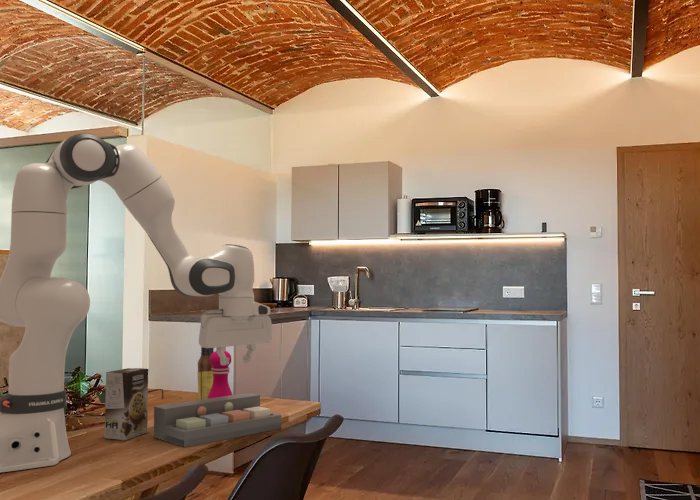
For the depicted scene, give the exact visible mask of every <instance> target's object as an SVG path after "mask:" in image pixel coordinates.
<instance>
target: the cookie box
mask: <svg viewBox="0 0 700 500" xmlns="http://www.w3.org/2000/svg"><path fill="white" fill-rule="evenodd" d="M105 373H106V374H105V388H106V399H105V405H104V408H105V410H104V438H105V439H110V440H111V439H112V440H119V441H120V440H121V441H127V440H130V439H132V438H136V437H138V436H141V434H142V435H144V433H145V434H147V433H148V419H149V418H148V412H149V407H148V406H149V405H148V404H149V403H148V399H149V398H148V397H149V393H148V391H149V368H144V367H143V368H141V367H138V368H137V367H134V368H130V367H129V368H123V369H121V368H120V369H117V370H116V369H115V370H111V371H106V372H105Z"/></svg>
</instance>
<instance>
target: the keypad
mask: <svg viewBox="0 0 700 500" xmlns="http://www.w3.org/2000/svg"><path fill="white" fill-rule="evenodd" d="M258 406H259V407H261V394H257V393H251V392H247V393H246V392H245V393H239V394H232V395H230V396H223V397H216V398H209V399H202V400H198V399H197V400H190V401H183V402H177V403H176V402H175V403H169V404H168V403H167V404H161V405H155V406H153V438H154V437H155V438H154V439H157V438H158V440H160V439H161V441H163V440H164V442H166V441H167V443H169V442H170V443H169V444H172V443H173V445H175V444H176V446H178V445H179V447H180V448H181V447H182V448H189V447H193V446H198V445H199V446H200V445H204V444H209V443H215V442H219V441H223V440H229V439H236V438H239V437H245V436H250V435H256V434H260V433H265V432H270V431H276V430H281V429H282V414H278V413H275V412H271V411H270V416H266V417H260V418H254V419H249V420H243V421H237V422H231V423H230V422H228V423H226V424H220V425H214V426H209V427H208V426H206V427H203V428H197V429H192V430H183V429H180V428H176V420H178V419H184V418H190V417H197V418H200V416H203V415H209V414H215V413H218V414H222V412H227V411H234V410H242V411H243V409H246V408H252V407H258Z"/></svg>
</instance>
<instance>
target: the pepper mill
mask: <svg viewBox="0 0 700 500" xmlns="http://www.w3.org/2000/svg"><path fill="white" fill-rule="evenodd" d="M224 353H225V356H226V357H227V358H229V365H221V364H220V357H219V355H218V353H217V351H216V350H215V351H214V352H213V353H212V354H211V356H210V363H211V365H212V366H213V368H212V373H213V384H212V387H211V390H210V392H209V395H208V399H209V398H216V397H223V396H230V395H233V392H232V389H231V388H230V385H229V384H230V383H229V373H230V367H229V366H230V364H231V363H232V355H231V353H230V352H228V351H227V350H226V351H224Z"/></svg>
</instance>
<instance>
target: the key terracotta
mask: <svg viewBox="0 0 700 500" xmlns="http://www.w3.org/2000/svg"><path fill="white" fill-rule="evenodd" d="M222 415H226V416H228V422H230V423H231V422H237V421H243V420H249V419H250V412H246V411H242V410H234V411H227V412H222Z"/></svg>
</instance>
